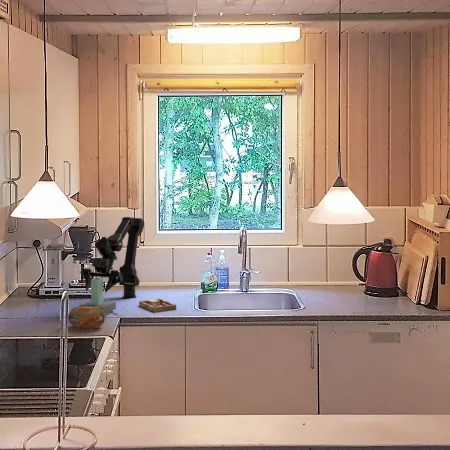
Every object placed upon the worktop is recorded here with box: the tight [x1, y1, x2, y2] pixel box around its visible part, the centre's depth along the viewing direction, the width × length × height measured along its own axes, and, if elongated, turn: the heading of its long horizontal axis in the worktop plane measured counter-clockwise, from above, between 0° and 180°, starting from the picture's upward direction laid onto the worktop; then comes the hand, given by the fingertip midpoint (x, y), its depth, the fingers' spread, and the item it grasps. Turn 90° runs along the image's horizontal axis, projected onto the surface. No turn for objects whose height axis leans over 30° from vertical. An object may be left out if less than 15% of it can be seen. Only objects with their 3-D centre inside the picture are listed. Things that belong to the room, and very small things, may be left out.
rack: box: [138, 298, 177, 313], centre depth 330 cm, size 15×11×3 cm
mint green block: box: [90, 277, 104, 305], centre depth 322 cm, size 5×3×11 cm, turn 163°
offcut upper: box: [148, 299, 160, 305], centre depth 333 cm, size 4×4×1 cm
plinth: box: [78, 300, 117, 317], centre depth 323 cm, size 12×12×4 cm
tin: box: [68, 306, 106, 329], centre depth 299 cm, size 15×3×8 cm, turn 80°
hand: (95, 291), depth 321 cm, fingers open, 9 cm apart
